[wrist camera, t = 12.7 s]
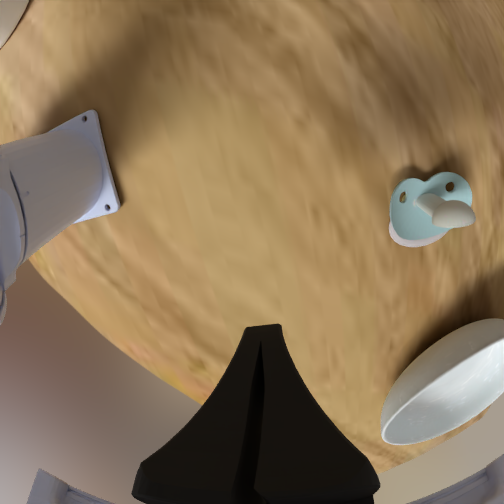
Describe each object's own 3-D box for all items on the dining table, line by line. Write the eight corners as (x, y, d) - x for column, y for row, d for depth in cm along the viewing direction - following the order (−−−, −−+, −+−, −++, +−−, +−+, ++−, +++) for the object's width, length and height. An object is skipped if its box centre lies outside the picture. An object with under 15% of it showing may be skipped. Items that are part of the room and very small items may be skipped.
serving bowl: (347, 358, 26) (361, 414, 20) (507, 261, 20) (544, 296, 14) (386, 422, 33) (396, 458, 27) (498, 358, 27) (515, 389, 21)
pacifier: (453, 232, 19) (454, 163, 16) (495, 271, 14) (507, 190, 11) (382, 251, 20) (375, 178, 18) (415, 301, 15) (418, 212, 12)
